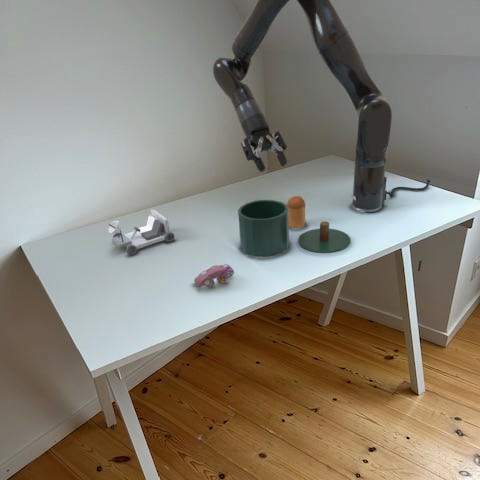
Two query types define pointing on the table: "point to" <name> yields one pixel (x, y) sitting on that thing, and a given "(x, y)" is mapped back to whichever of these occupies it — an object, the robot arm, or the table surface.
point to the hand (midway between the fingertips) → (273, 167)
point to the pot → (264, 228)
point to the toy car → (142, 233)
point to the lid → (324, 239)
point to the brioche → (296, 212)
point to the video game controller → (214, 275)
